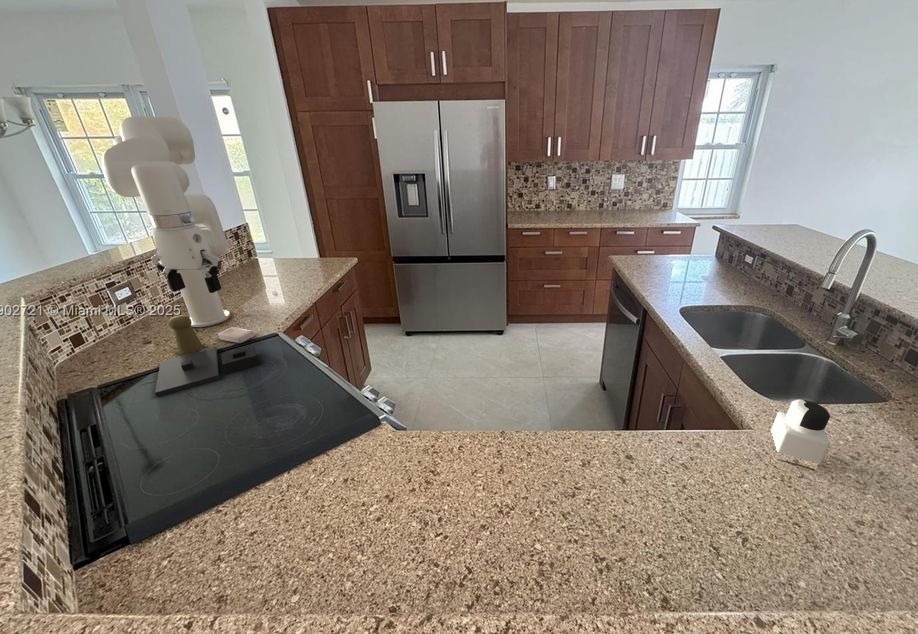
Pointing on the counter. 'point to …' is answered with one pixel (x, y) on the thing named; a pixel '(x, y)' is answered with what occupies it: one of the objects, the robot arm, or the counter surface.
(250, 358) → the top pad
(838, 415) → the counter surface
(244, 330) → the soap bar
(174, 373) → the base pad
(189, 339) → the cork
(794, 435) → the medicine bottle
